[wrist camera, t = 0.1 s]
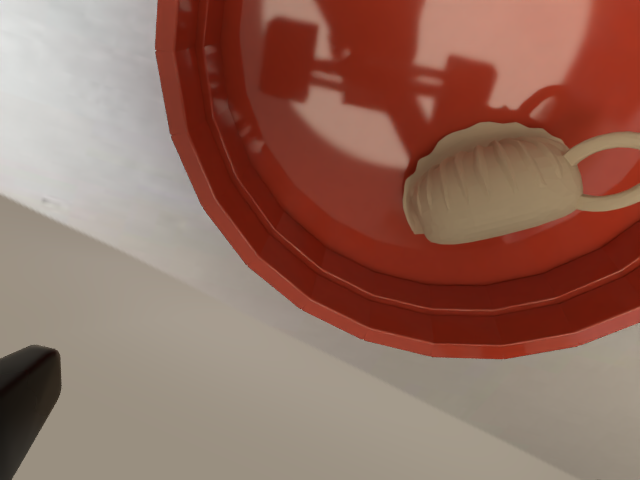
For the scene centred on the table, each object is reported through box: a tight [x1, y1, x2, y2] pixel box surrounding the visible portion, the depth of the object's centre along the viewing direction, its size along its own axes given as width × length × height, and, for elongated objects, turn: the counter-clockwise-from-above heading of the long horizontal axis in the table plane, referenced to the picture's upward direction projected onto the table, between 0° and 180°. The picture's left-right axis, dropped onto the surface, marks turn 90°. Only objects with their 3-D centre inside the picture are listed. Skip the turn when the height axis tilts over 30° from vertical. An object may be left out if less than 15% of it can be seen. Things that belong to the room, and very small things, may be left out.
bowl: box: [155, 0, 640, 359], centre depth 18 cm, size 21×21×4 cm
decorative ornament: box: [403, 122, 640, 244], centre depth 19 cm, size 4×8×5 cm, turn 107°
